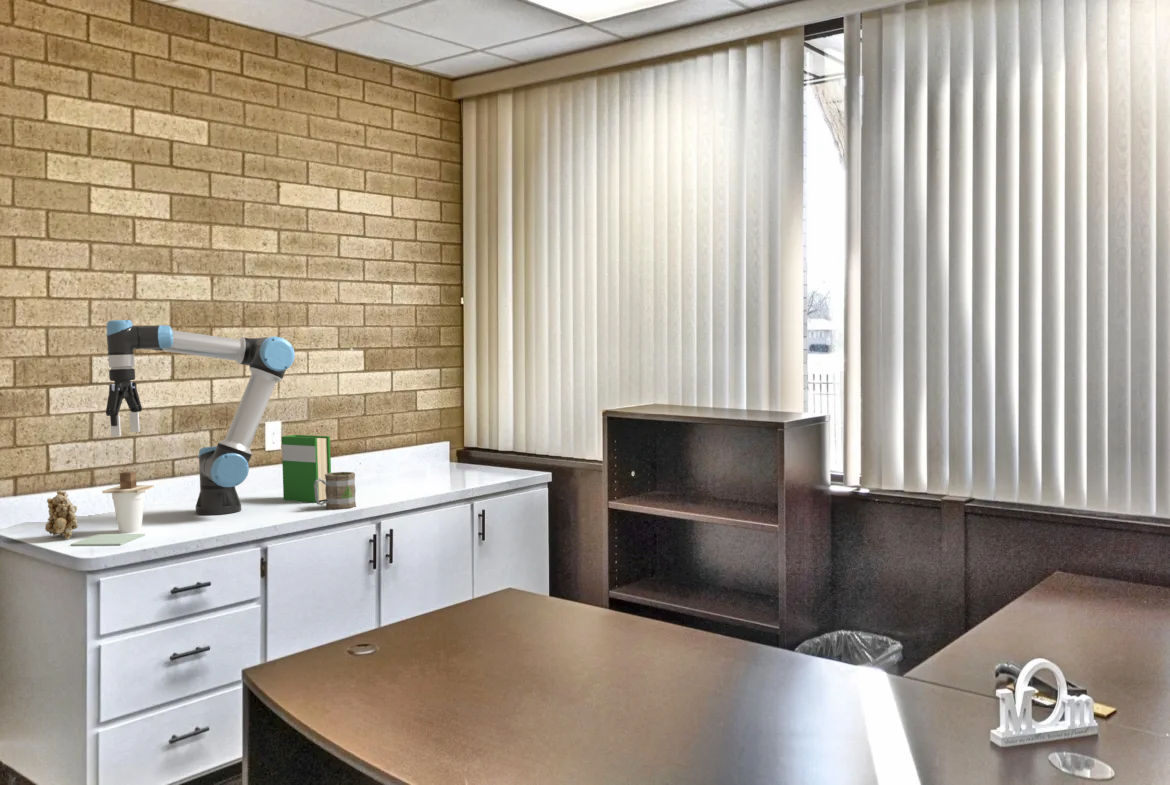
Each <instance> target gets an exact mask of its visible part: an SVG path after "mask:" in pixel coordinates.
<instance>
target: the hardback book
mask: <svg viewBox="0 0 1170 785" xmlns="http://www.w3.org/2000/svg"><path fill="white" fill-rule="evenodd" d="M281 456H282V457H281V462H282V464H281V465H282V489H283V490H282V491H283V501H291V502H302V503H313V504H317V502H316V500H315V490H314V483H315V481H316V480H317V479H319V478H320V479H323V480H324V481H325V482H326V479H325V474H328V473H332V464H331V463H332V460H331V459H332V458H331V457H332V456H331V436H330V435H329V436H328V435H308V434H292V435H283V436H281ZM317 488H318V497H319V501H326V492H325V489H326V485H325V484H323V483H322V482H321V481H319V482H318V485H317Z"/></svg>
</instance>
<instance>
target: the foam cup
mask: <svg viewBox="0 0 1170 785" xmlns="http://www.w3.org/2000/svg"><path fill="white" fill-rule="evenodd" d="M145 497H146V490H145V491H142V492H139V493H111V498H112V501H113V505H114V506H113V507H114V513H115V517H116V522H117V527H118V532H119V534H133V533H137V532H140V531H142V527H143V517H144V505H145Z"/></svg>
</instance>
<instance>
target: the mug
mask: <svg viewBox="0 0 1170 785" xmlns="http://www.w3.org/2000/svg"><path fill="white" fill-rule="evenodd" d="M355 477H356V473H355V472H353V471H352V472H351V471H338V472H337V471H335V472H331V473H328V474H325V479H326V482H325V481H324V480H323V479H320V478H319V479H317V480H316V481H315V483H314V490H315V500H316V502H317V503H316V505H319V506H323V505H325V509H327V510H335V511H336V510H337V511H338V510H347V509H348V510H350V509H354V508H357V505H356V504H357V502H356V483H355V481H356V479H355ZM319 481H321V482H322V483H323V484H325V485H326V489H325V492H326V500H323V501H322V502H320V500H319V497H318V488H317V485H318V482H319ZM353 507H354V508H353Z"/></svg>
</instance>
